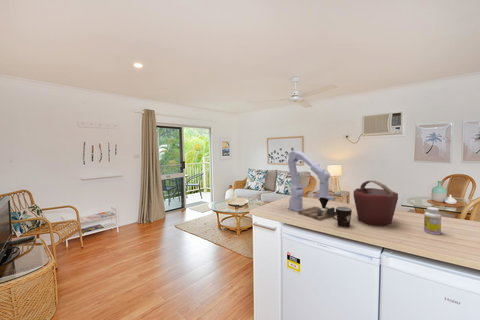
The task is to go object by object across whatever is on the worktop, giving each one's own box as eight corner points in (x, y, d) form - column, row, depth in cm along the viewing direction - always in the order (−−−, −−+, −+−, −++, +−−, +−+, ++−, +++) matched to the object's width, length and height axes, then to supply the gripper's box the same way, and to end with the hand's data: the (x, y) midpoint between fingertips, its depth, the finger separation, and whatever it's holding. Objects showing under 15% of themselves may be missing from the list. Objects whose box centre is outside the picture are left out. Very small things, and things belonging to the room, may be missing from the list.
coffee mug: (348, 222, 130) (348, 206, 129) (354, 228, 121) (354, 210, 120) (328, 222, 131) (328, 206, 130) (333, 227, 122) (333, 210, 122)
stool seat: (298, 213, 149) (298, 205, 149) (314, 209, 159) (314, 201, 159) (320, 220, 134) (320, 211, 134) (337, 215, 144) (337, 206, 144)
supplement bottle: (423, 228, 117) (424, 205, 117) (440, 231, 113) (440, 207, 112) (424, 232, 112) (424, 208, 111) (441, 235, 108) (442, 211, 107)
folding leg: (322, 215, 138) (322, 210, 138) (318, 213, 140) (318, 209, 140) (333, 211, 144) (333, 207, 144) (329, 210, 147) (329, 206, 147)
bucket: (404, 230, 116) (405, 184, 115) (360, 228, 121) (360, 184, 119) (383, 215, 140) (384, 178, 139) (347, 214, 145) (347, 178, 143)
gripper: (311, 188, 147) (311, 207, 148) (330, 191, 135) (330, 212, 136) (317, 187, 151) (317, 205, 152) (336, 190, 139) (336, 210, 140)
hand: (323, 208), depth 144 cm, fingers closed
